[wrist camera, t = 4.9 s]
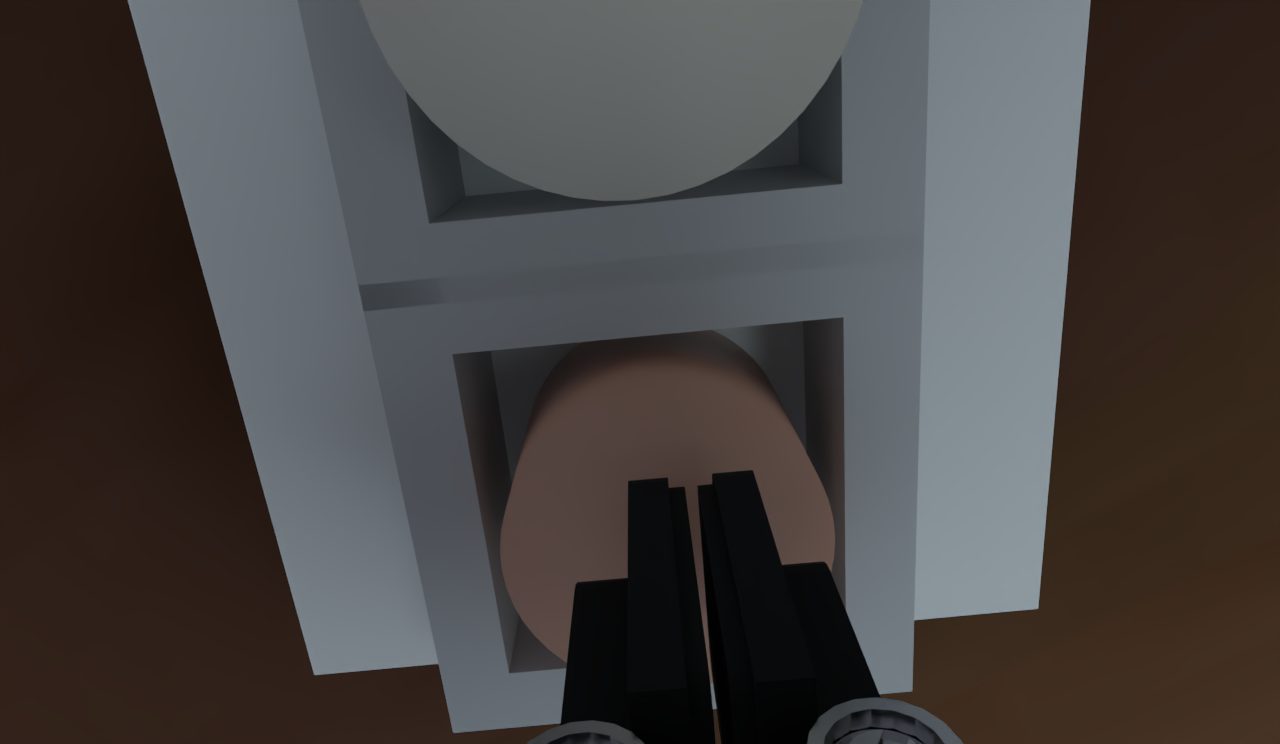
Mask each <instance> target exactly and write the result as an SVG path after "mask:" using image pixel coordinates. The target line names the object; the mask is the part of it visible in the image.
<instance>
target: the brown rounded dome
mask: <svg viewBox="0 0 1280 744" xmlns="http://www.w3.org/2000/svg"><path fill="white" fill-rule="evenodd" d="M746 470H753V472H754V475H755V478H756V481H757V485H758V488H759V491H760V494H761V498H762V501H763V504H764V508H765V511H766V514H767V517H768V521H769V524H770V527H771V530H772V534H773V537H774V540H775V544H776V547H777V550H778V553H779V557H780V560H781V563H782V565H786V564H798V563H810V562H821V561H824V562H825V563H826V564H827V565H828V567H829V569H830V572H831V570H832V565H833V560H834V551H835V530H834V519H833V515H832V511H831V507H830V503H829V499H828V497H827V495H826V492H825V490H824V487H823V485H822V482H821V480H820V479H819V477H818V475H817V473H816V471H815V469H814V467H813V465H812V463H811V461H810V459H809V457H808V455H807V453H806V451H805V449H804V447H803V445H802V443H801V441H800V439H799V437H798V435H797V433H796V431H795V429H794V427H793V425H792V423H791V421H790V419H789V417H788V415H787V413H786V411H785V409H784V407H783V405H782V403H781V401H780V399H779V397H778V396H777V394H776V392H775V390H774V388H773V386H772V384H771V382H770V381H769V379H768V377H767V376H766V374H765V372H764V371H763V370H762V368H761V367H760V366H759V365H758V364H757V362H756V361H755V360H754V359H753V358H752V357H751V356H750V355H749V354H748V353H747V352H746V351H745V350H744V349H743V348H741V347H740V346H738V345H737V344H736V343H734V342H733V341H731V340H730V339H728V338H727V337H725V336H723V335H721V334H719V333H717V332H715V331H713V330H703V331H693V332H682V333H672V334H661V335H651V336H640V337H630V338H619V339H608V340H598V341H587V342H582V343H580V344H579V345H577V346H576V347H575V348H574V349H572V350H571V351H570V352H569V353H567V354H566V355H565V356H564V357H563V358H562V359H561V360H560V361H559V363H558V364H557V365H556V366H555V367H554V368H553V370H552V371H551V372H550V374H549V375H548V377H547V378H546V379H545V381H544V383H543V385H542V387H541V389H540V390H539V392H538V394H537V397H536V400H535V403H534V405H533V408H532V412H531V416H530V419H529V423H528V427H527V431H526V434H525V438H524V442H523V446H522V450H521V453H520V457H519V461H518V465H517V468H516V472H515V476H514V480H513V483H512V487H511V491H510V495H509V499H508V502H507V506H506V510H505V514H504V519H503V524H502V528H501V539H500V557H501V568H502V573H503V577H504V581H505V585H506V588H507V591H508V593H509V596H510V598H511V600H512V603H513V605H514V607H515V609H516V610H517V612H518V614H519V615H520V617H521V619H522V620H523V622H524V623H525V625H526V626H527V627H528V628H529V630H530V631H531V632H532V633H533V635H534V636H535V637H536V638H537V639H538V640H539V641H540V642H541V643H542V644H543V645H544V646H545V647H546V648H548V649H549V650H550V651H551V652H552V653H554V654H555V655H556V656H558V657H559V658H560V659H562V660H563V661H565V662H566V663H567V657H568V647H569V638H570V628H571V619H572V609H573V600H574V591H575V585H576V583H577V582H584V581H596V580H608V579H620V578H628V481H631V480H643V479H654V478H666V477H668V484H669V488H673V487H685V492H686V500H687V507H688V515H689V523H690V530H691V538H692V545H693V553H694V561H695V568H696V576H697V584H698V591H699V599H700V606H701V614H702V622H703V629H704V637H705V644H706V652H707V660H708V668H709V676H710V684H712V683H713V678H712V670H711V661H710V650H709V637H708V624H707V610H706V597H705V584H704V570H703V557H702V544H701V530H700V517H699V504H698V488H697V486H698V485H708V484H712V473H723V472H735V471H746Z"/></svg>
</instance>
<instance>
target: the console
mask: <svg viewBox="0 0 1280 744" xmlns="http://www.w3.org/2000/svg"><path fill="white" fill-rule="evenodd" d="M1090 2H1091V0H863V2H862V5H861V8H860V12H859V15H858V18H857V21H856V23H855V25H854V28H853V30H852V32H851V35H850V37H849V39H848V41H847V44H846V46H845V48H844V51H843V53H842V54H841V56H840V58H839V60H838V61H837V63H836V65H835V66H834V68H833V70H832V72H831V73H830V75H829V77H828V79H827V80H826V82H825V83H824V85H823V86H822V87H821V89H820V90H819V91H818V93H817V94H816V95H815V97H814V98H813V99H812V101H811V102H810V103H809V105H808V106H807V107H806V109H805V110H804V111H803V112H802V113H801V114H800V115H799V116H798V117H797V118H796V119H795V120H794V122H793V123H792V124H791V125H790V126H789V127H788V128H787V129H786V130H785V131H784V132H783V133H782V134H781V135H780V136H779V137H777V138H776V139H775V140H774V141H772V142H771V143H770V144H769V145H767V146H766V147H765V148H764V149H763V150H761V151H760V152H759V153H758V154H756V155H755V156H754V157H752V158H750V159H749V160H747V161H745V162H744V163H742V164H741V165H739V166H737V167H736V168H734V169H732V170H731V171H729V172H728V173H726V174H723V175H721V176H719V177H717V178H715V179H712V180H710V181H708V182H706V183H703V184H701V185H699V186H696V187H693V188H690V189H686V190H683V191H680V192H676V193H673V194H670V195H665V196H659V197H653V198H647V199H641V200H625V201H600V200H590V199H581V198H573V197H569V196H564V195H560V194H556V193H552V192H548V191H543V190H541V189H538V188H536V187H533V186H530V185H528V184H525V183H522V182H520V181H517V180H515V179H512V178H510V177H509V176H507V175H505V174H503V173H501V172H499V171H497V170H495V169H494V168H492V167H490V166H488V165H486V164H484V163H483V162H481V161H480V160H479V159H477V158H476V157H474V156H473V155H472V154H470V153H469V152H467V151H466V150H464V149H463V148H462V147H460V146H459V145H457V144H456V143H455V142H454V141H453V140H452V139H451V138H450V137H449V136H447V135H446V134H445V133H444V132H443V131H442V130H441V129H440V128H439V127H438V126H436V125H435V124H434V123H433V122H432V121H431V120H430V119H429V118H428V116H427V115H426V114H425V113H424V112H423V111H422V109H421V108H420V107H419V106H418V105H417V104H416V102H415V101H414V100H413V99H412V98H411V97H410V95H409V94H408V93H407V91H406V90H405V88H404V87H403V85H402V84H401V82H400V81H399V79H398V78H397V77H396V75H395V74H394V72H393V71H392V69H391V68H390V66H389V65H388V63H387V61H386V59H385V57H384V55H383V53H382V51H381V49H380V47H379V45H378V43H377V42H376V40H375V38H374V36H373V34H372V32H371V29H370V27H369V24H368V21H367V19H366V16H365V13H364V11H363V8H362V6H361V3H360V0H128V3H129V7H130V10H131V14H132V18H133V21H134V25H135V29H136V32H137V36H138V39H139V43H140V47H141V50H142V54H143V57H144V61H145V65H146V68H147V72H148V76H149V79H150V83H151V86H152V90H153V94H154V97H155V101H156V104H157V108H158V112H159V115H160V119H161V123H162V126H163V130H164V133H165V137H166V141H167V144H168V148H169V151H170V155H171V159H172V162H173V166H174V170H175V173H176V177H177V180H178V184H179V188H180V191H181V195H182V198H183V202H184V206H185V209H186V213H187V217H188V220H189V224H190V227H191V231H192V235H193V238H194V242H195V245H196V249H197V253H198V256H199V260H200V264H201V267H202V271H203V274H204V278H205V282H206V285H207V289H208V292H209V296H210V300H211V303H212V307H213V311H214V314H215V318H216V321H217V325H218V329H219V332H220V336H221V339H222V343H223V347H224V350H225V354H226V358H227V361H228V365H229V368H230V372H231V376H232V379H233V383H234V387H235V390H236V394H237V397H238V401H239V405H240V408H241V412H242V415H243V419H244V423H245V426H246V430H247V434H248V437H249V441H250V444H251V448H252V452H253V455H254V459H255V462H256V466H257V470H258V473H259V477H260V481H261V484H262V488H263V491H264V495H265V499H266V502H267V506H268V509H269V513H270V517H271V520H272V524H273V528H274V531H275V535H276V538H277V542H278V546H279V549H280V553H281V556H282V560H283V564H284V567H285V571H286V575H287V578H288V582H289V585H290V589H291V593H292V596H293V600H294V603H295V607H296V611H297V614H298V618H299V622H300V625H301V629H302V632H303V636H304V640H305V643H306V647H307V650H308V654H309V658H310V661H311V665H312V669H313V672H314V675H321V674H332V673H343V672H354V671H365V670H376V669H387V668H398V667H409V666H419V665H430V664H439V668H440V673H441V678H442V682H443V687H444V692H445V697H446V701H447V706H448V711H449V715H450V720H451V725H452V730H453V733H459V732H470V731H481V730H492V729H503V728H514V727H525V726H536V725H546V724H557V723H561V714H562V704H563V695H564V685H565V676H566V666H567V663H566V662H565V661H563V660H562V659H560V658H559V657H558V656H556V655H555V654H554V653H552V652H551V651H550V650H549V649H548V648H546V647H545V646H544V645H543V644H542V643H541V642H540V641H539V640H538V639H537V638H536V637H535V636H534V635H533V633H532V632H531V631H530V630H529V628H528V627H527V626H526V625H525V623H524V622H523V620H522V619H521V617H520V615H519V614H518V612H517V610H516V609H515V607H514V605H513V603H512V600H511V598H510V596H509V593H508V591H507V588H506V585H505V581H504V577H503V573H502V568H501V557H500V539H501V528H502V524H503V519H504V514H505V510H506V506H507V502H508V499H509V495H510V491H511V487H512V483H513V480H514V476H515V472H516V468H517V465H518V461H519V457H520V453H521V450H522V446H523V442H524V438H525V434H526V431H527V427H528V423H529V419H530V416H531V412H532V408H533V405H534V403H535V400H536V397H537V394H538V392H539V390H540V389H541V387H542V385H543V383H544V381H545V379H546V378H547V377H548V375H549V374H550V372H551V371H552V370H553V368H554V367H555V366H556V365H557V364H558V363H559V361H560V360H561V359H562V358H563V357H564V356H565V355H566V354H567V353H569V352H570V351H571V350H572V349H574V348H575V347H576V346H577V345H579V344H580V343H582V342H587V341H598V340H608V339H619V338H630V337H640V336H651V335H661V334H672V333H682V332H693V331H703V330H713V331H715V332H717V333H719V334H721V335H723V336H725V337H727V338H728V339H730V340H731V341H733V342H734V343H736V344H737V345H738V346H740V347H741V348H743V349H744V350H745V351H746V352H747V353H748V354H749V355H750V356H751V357H752V358H753V359H754V360H755V361H756V362H757V364H758V365H759V366H760V367H761V368H762V370H763V371H764V372H765V374H766V376H767V377H768V379H769V381H770V382H771V384H772V386H773V388H774V390H775V392H776V394H777V396H778V397H779V399H780V401H781V403H782V405H783V407H784V409H785V411H786V413H787V415H788V417H789V419H790V421H791V423H792V425H793V427H794V429H795V431H796V433H797V435H798V437H799V439H800V441H801V443H802V445H803V447H804V449H805V451H806V453H807V455H808V457H809V459H810V461H811V463H812V465H813V467H814V469H815V471H816V473H817V475H818V477H819V479H820V480H821V482H822V485H823V487H824V490H825V492H826V495H827V497H828V499H829V503H830V507H831V511H832V515H833V519H834V530H835V551H834V560H833V565H832V570H831V574H832V577H833V579H834V582H835V584H836V587H837V589H838V592H839V594H840V597H841V599H842V602H843V604H844V607H845V609H846V612H847V614H848V617H849V619H850V622H851V624H852V627H853V629H854V632H855V634H856V637H857V639H858V642H859V644H860V647H861V649H862V652H863V655H864V657H865V660H866V662H867V665H868V667H869V670H870V672H871V675H872V677H873V680H874V682H875V685H876V687H877V690H878V692H879V694H887V693H898V692H909V691H912V684H913V645H914V620H921V619H931V618H942V617H953V616H964V615H975V614H986V613H997V612H1008V611H1019V610H1030V609H1038V604H1039V593H1040V581H1041V570H1042V558H1043V546H1044V535H1045V523H1046V512H1047V500H1048V488H1049V477H1050V465H1051V454H1052V442H1053V430H1054V419H1055V407H1056V396H1057V384H1058V373H1059V361H1060V349H1061V338H1062V326H1063V315H1064V303H1065V291H1066V280H1067V268H1068V257H1069V245H1070V233H1071V222H1072V210H1073V199H1074V187H1075V175H1076V164H1077V152H1078V141H1079V129H1080V117H1081V106H1082V94H1083V83H1084V71H1085V59H1086V48H1087V36H1088V25H1089V13H1090ZM710 685H711V695H712V706H713V709H717V708H716V701H715V693H714V686H713V683H712V684H710Z"/></svg>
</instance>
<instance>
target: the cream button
mask: <svg viewBox="0 0 1280 744" xmlns="http://www.w3.org/2000/svg"><path fill="white" fill-rule="evenodd" d="M862 2H863V0H360V3H361V6H362V8H363V11H364V13H365V16H366V19H367V21H368V24H369V27H370V29H371V32H372V34H373V36H374V38H375V40H376V42H377V43H378V45H379V47H380V49H381V51H382V53H383V55H384V57H385V59H386V61H387V63H388V65H389V66H390V68H391V69H392V71H393V72H394V74H395V75H396V77H397V78H398V79H399V81H400V82H401V84H402V85H403V87H404V88H405V90H406V91H407V93H408V94H409V95H410V97H411V98H412V99H413V100H414V101H415V102H416V104H417V105H418V106H419V107H420V108H421V109H422V111H423V112H424V113H425V114H426V115H427V116H428V118H429V119H430V120H431V121H432V122H433V123H434V124H435V125H436V126H438V127H439V128H440V129H441V130H442V131H443V132H444V133H445V134H446V135H447V136H449V137H450V138H451V139H452V140H453V141H454V142H455V143H456V144H457V145H459V146H460V147H462V148H463V149H464V150H466V151H467V152H469V153H470V154H472V155H473V156H474V157H476V158H477V159H479V160H480V161H481V162H483V163H484V164H486V165H488V166H490V167H492V168H494V169H495V170H497V171H499V172H501V173H503V174H505V175H507V176H509V177H510V178H512V179H515V180H517V181H520V182H522V183H525V184H528V185H530V186H533V187H536V188H538V189H541V190H543V191H548V192H552V193H556V194H560V195H564V196H569V197H573V198H581V199H590V200H600V201H625V200H641V199H647V198H653V197H659V196H665V195H670V194H673V193H676V192H680V191H683V190H686V189H690V188H693V187H696V186H699V185H701V184H703V183H706V182H708V181H710V180H712V179H715V178H717V177H719V176H721V175H723V174H726V173H728V172H729V171H731V170H732V169H734V168H736V167H737V166H739V165H741V164H742V163H744V162H745V161H747V160H749V159H750V158H752V157H754V156H755V155H756V154H758V153H759V152H760V151H761V150H763V149H764V148H765V147H766V146H767V145H769V144H770V143H771V142H772V141H774V140H775V139H776V138H777V137H779V136H780V135H781V134H782V133H783V132H784V131H785V130H786V129H787V128H788V127H789V126H790V125H791V124H792V123H793V122H794V120H795V119H796V118H797V117H798V116H799V115H800V114H801V113H802V112H803V111H804V110H805V109H806V107H807V106H808V105H809V103H810V102H811V101H812V99H813V98H814V97H815V95H816V94H817V93H818V91H819V90H820V89H821V87H822V86H823V85H824V83H825V82H826V80H827V79H828V77H829V75H830V73H831V72H832V70H833V68H834V66H835V65H836V63H837V61H838V60H839V58H840V56H841V54H842V53H843V51H844V48H845V46H846V44H847V41H848V39H849V37H850V35H851V32H852V30H853V28H854V25H855V23H856V21H857V18H858V15H859V12H860V8H861V5H862Z"/></svg>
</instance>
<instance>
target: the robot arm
mask: <svg viewBox="0 0 1280 744" xmlns="http://www.w3.org/2000/svg"><path fill="white" fill-rule="evenodd" d="M697 488H698V504H699V517H700V530H701V544H702V557H703V570H704V584H705V597H706V610H707V624H708V637H709V650H710V661H711V670H712V678H713V686H714V693H715V701H716V708H717V715H718V723H719V730H720V738H721V744H963V743H962V742H961V740H960V739H959V738H958V737H957V736H956V735H955V734H954V732H953V731H952V730H951V729H950V728H949V727H948V726H947V725H946V724H945V723H944V722H943V721H941V720H939V719H938V718H936V717H935V716H933V715H932V714H930V713H929V712H927V711H926V710H924V709H921V708H919V707H916V706H913V705H910V704H908V703H905V702H902V701H898V700H891V699H884V698H881V697H880V695H879V692H878V690H877V687H876V685H875V682H874V680H873V677H872V675H871V672H870V670H869V667H868V665H867V662H866V660H865V657H864V655H863V652H862V649H861V647H860V644H859V642H858V639H857V637H856V634H855V632H854V629H853V627H852V624H851V622H850V619H849V617H848V614H847V612H846V609H845V607H844V604H843V602H842V599H841V597H840V594H839V592H838V589H837V587H836V584H835V582H834V579H833V577H832V574H831V572H830V569H829V567H828V565H827V564H826V563H825V562H824V561H821V562H810V563H798V564H786V565H782V563H781V560H780V557H779V553H778V550H777V547H776V544H775V540H774V537H773V534H772V530H771V527H770V524H769V521H768V517H767V514H766V511H765V508H764V504H763V501H762V498H761V494H760V491H759V488H758V485H757V481H756V478H755V475H754V472H753V470H746V471H735V472H723V473H712V484H708V485H698V486H697ZM527 744H715V732H714V719H713V706H712V695H711V685H710V676H709V668H708V660H707V652H706V644H705V637H704V629H703V622H702V614H701V606H700V599H699V591H698V584H697V576H696V568H695V561H694V553H693V545H692V538H691V530H690V523H689V515H688V507H687V500H686V492H685V487H673V488H669V484H668V477H666V478H654V479H643V480H631V481H628V578H620V579H608V580H596V581H584V582H577V583H576V585H575V591H574V600H573V609H572V619H571V628H570V638H569V647H568V657H567V666H566V676H565V685H564V695H563V704H562V714H561V723H560V726H558V727H555V728H552V729H549V730H547V731H545V732H544V733H542V734H540V735H539V736H537V737H535V738H534V739H532V740H530V741H529V742H528V743H527Z"/></svg>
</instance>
